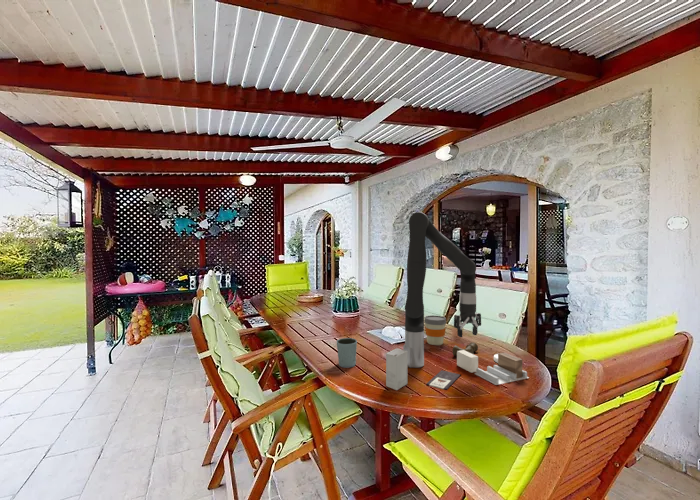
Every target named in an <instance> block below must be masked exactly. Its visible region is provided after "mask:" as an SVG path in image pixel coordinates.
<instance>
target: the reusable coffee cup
mask: <svg viewBox="0 0 700 500" xmlns="http://www.w3.org/2000/svg"><path fill="white" fill-rule="evenodd" d="M446 324H447V318H446V317H445V316H443V315H426V316H424V333H425V335H426V341H427V344H428V345H431V346H441V345H443V344H444V339H445V336H446V329H447V328H446Z"/></svg>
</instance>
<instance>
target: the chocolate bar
mask: <svg viewBox="0 0 700 500" xmlns="http://www.w3.org/2000/svg"><path fill="white" fill-rule="evenodd" d="M460 377H461V374H460V373H455V372H451V371H447V370H440V371H439V372H438V373H437V374H436V375H434V376H433V377H432V378H431V379H430V380H429V381H428V382H426V386H430V387H433V388H437V389H441V390H446V391H447V390H448V389H450V387H452V385H453V384H454V383H455V382H456V381H457V380H458V379H459V378H460Z"/></svg>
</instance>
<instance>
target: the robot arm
mask: <svg viewBox="0 0 700 500" xmlns="http://www.w3.org/2000/svg"><path fill="white" fill-rule="evenodd" d="M408 228H409V230H408V231H409V242H408V243H409V244H408V252H407V260H406V282H407V283H406V284H407V292H406V300H405V303H404V304H405V305H404V311H405V315H404V316H405V317H404V321H405V322H404V344H403V346H402V347H403V348H402V350H405V351H408V355H407V368H422V367H423V366H425V304H424V287H425V285H424V284H425V281H426V275H427V274H426V273H427V249H426V238H427V239H428V240H429V241H430V243H432V244H433V245H434V247H436V249H437V250H438V251H439V252H440V253H441V254H442V255H444V257H445V258H447V259H448V260H449V262H451V263H452V264H453V265H454V266H455V267H456V268H457V269H458V270H459V271H460V285H459V300H458V301H459V304H458V305H459V309H458V310H459V313H460V314H459V315H458V314H454V317H453V327H454V328H455V329H457V336H458V337H459V338H463V329H464V326H466V325H468V324H471V325H472V335H473V336H477V334H478V328H479V327H480V326H482V314H481V312H477V294H476V293H477V292H476V291H477V285H476V271H477V265H476V262H475V261H473V260H471V259H470V258H469V257H468V256H467V255H466V254H464V252H463V251H462V250H461V249H460V248H459V247H458V246H457V245H456V244H455V243H454V242H453V241H451V240H450V239H449V238H448V237H446V236H445V235H444V234H443V233H442V232H440V231H439V229H438V228H436V226H435V225H434V223H432V221H431V219H429V217H428V215H427V214H425V213H424V212H422V211H416V212H413V213H412V214H411V215H410V217H409V219H408Z"/></svg>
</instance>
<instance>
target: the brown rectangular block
mask: <svg viewBox="0 0 700 500" xmlns="http://www.w3.org/2000/svg"><path fill="white" fill-rule="evenodd" d="M497 354H498V363H497V366H500V367H502V368H504V369H506V370H508V371H511V372H513V373H515V374H517V375H516V379H517V378H522V370H523V359H522V358H520V357H517V356H515V355H512V354H510V353H507V352H500V353H499V352H498V353H497Z"/></svg>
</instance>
